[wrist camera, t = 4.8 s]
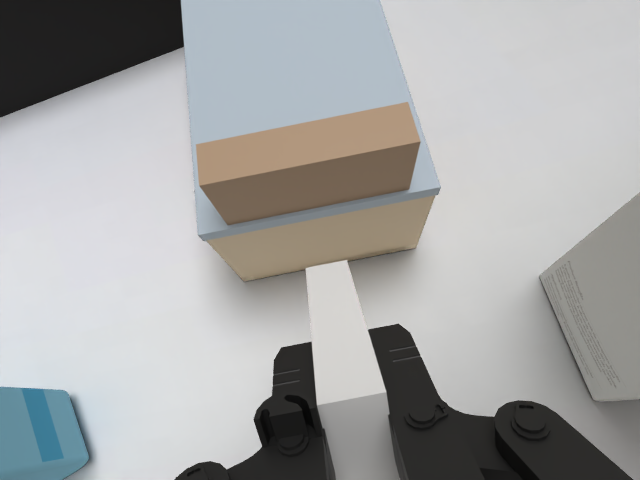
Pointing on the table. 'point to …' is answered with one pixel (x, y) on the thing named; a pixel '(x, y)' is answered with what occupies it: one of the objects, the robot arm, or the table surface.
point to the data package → (39, 435)
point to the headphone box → (78, 43)
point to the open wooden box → (325, 240)
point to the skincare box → (602, 304)
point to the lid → (297, 113)
